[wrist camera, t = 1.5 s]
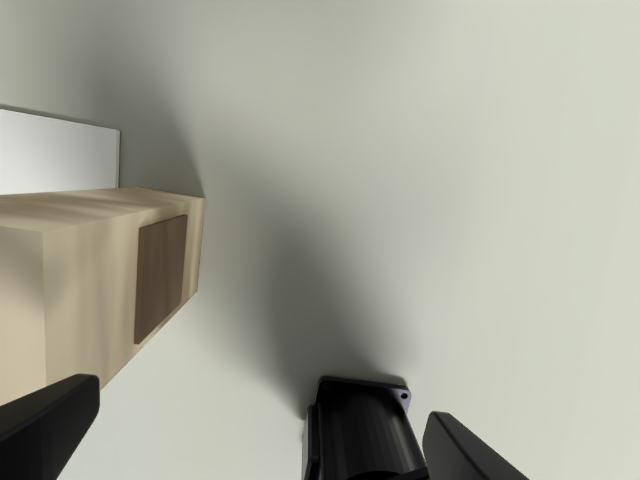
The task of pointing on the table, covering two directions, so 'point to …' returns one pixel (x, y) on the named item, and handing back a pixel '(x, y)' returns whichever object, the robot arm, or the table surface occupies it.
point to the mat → (55, 155)
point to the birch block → (90, 279)
